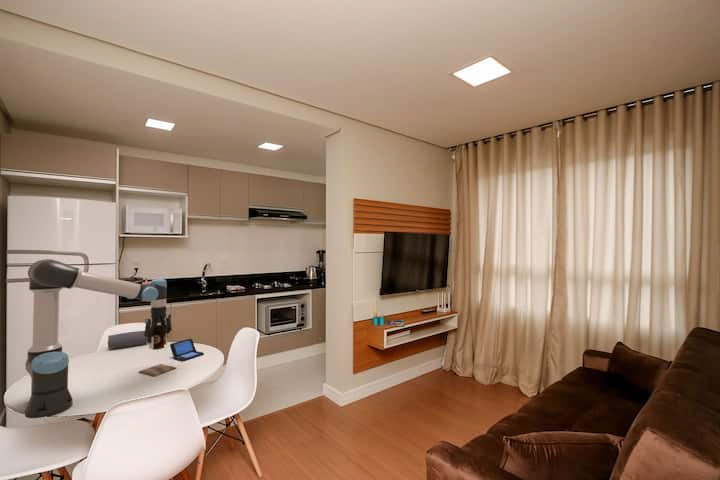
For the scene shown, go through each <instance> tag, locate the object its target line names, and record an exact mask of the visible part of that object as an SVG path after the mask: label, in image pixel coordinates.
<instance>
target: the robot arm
mask: <svg viewBox="0 0 720 480" xmlns="http://www.w3.org/2000/svg"><path fill="white" fill-rule="evenodd" d="M27 276H28V278H29V279H28V280H29V281H28V282H29V286H28V287H29V288H28V289H29V291H30V292H32V293H33V309H32V310H33V311H32V313H33V314H32V316H33V317H32V346H31V347H30V348H28V349H27V359H26V362H25V370H26V372H27V373H28V374H29V376H30V377H31V378H30V379H31V387H30V388H31V390H30V391H31V394H30V398H29V399H28V402H27V405H26V407H25V409H24V417H25V418H27V419H39V418H47V417H51V416H53V415H58V414H60V413H62V412H65V411H67V410H68V409H70V408H72V406H73V405H74V404H73V402H74V401H73V400H74V399H73V397H72V394H71V392H70V390H69V388H68V387H69V363H70V359H69V355H68V354H67V353H66V352H63V344H61V343H60V342H59V318H60V317H59V313H60V292H61V291H62V290H63V289H69V290H71V289H73V288H78V289H83V290H88V291H93V292H98V293H103V294H108V295H113V296H119V297H125V298H126V299H128V300H135V299H136V300H140V301H144V302H150V307H151V308H150V314H151V315H150V317H149V318H148V317H147V318H145V326H144V327H145V328H144V331H145V333H144V336H145V337H148V342H147V343H148V349H150V350H153V341H154V337H152V335H153V333H154V331H153V329H154V328H155V327H156V325H159V323H160V325H166V327H167V330H166V339H165V343H164V346H167V345H168V339H169V334H170V332H172V329H173V328H172V321H171V318H172V314H167V290H168V289H167V287H168V286H167V284H168V283H167V280H166V279H165V278H155V279H152V280H151V282H150V283H144V284H143V283H141V284H140V283H135V282H132V281H127V280H123V279H117V278H114V277H109V276H105V275H99V274H95V273H91V272H86V271H82V270H81V269H80V268H79V267H75V266H71V265H69V264H66V263H63V262H61V261H58V260H54V259H50V258H49V259H48V258H46V259H41V260H37V261H35V262H34V263H32V264H31V265H30V267H29V268H28V270H27Z"/></svg>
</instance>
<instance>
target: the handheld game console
mask: <svg viewBox="0 0 720 480" xmlns="http://www.w3.org/2000/svg"><path fill="white" fill-rule="evenodd" d="M169 346H170V350H171V354H172V357H173V360H176V361H180V362H185V361H189V360H192V359H195V358H198V357H201V356H204V354H205V353H204V352H201V351H198V350H197V349H196V346H195V343H194V340H193V338H187V339H184V340H180V341H176V342H171V343H170V345H169Z"/></svg>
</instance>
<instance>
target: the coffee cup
mask: <svg viewBox="0 0 720 480" xmlns="http://www.w3.org/2000/svg"><path fill="white" fill-rule="evenodd" d="M166 330H167V327H166V325H161V324H157V325H156V327H155V328H154V329H153V331H154V333H153V335H152V337H154V341H153V349H152V350H154V351H155V350H162V349H165V345H164V343H165V339H166Z"/></svg>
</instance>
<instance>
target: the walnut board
mask: <svg viewBox="0 0 720 480" xmlns="http://www.w3.org/2000/svg"><path fill="white" fill-rule="evenodd" d="M176 369H177V368H176V366H172V365H167V364H162V363H159V364H157V365H153V366H150V367H148V368H145V369H142V370H139V371H138V374H142V375H146V376H150V377H154V378H155V377H157V376H160V375H163V374H165V373H168V372H171V371H173V370H176Z"/></svg>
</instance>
